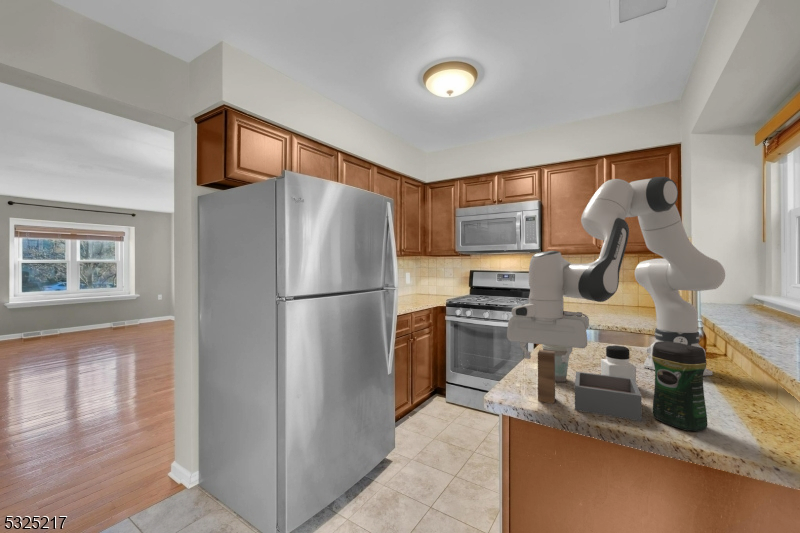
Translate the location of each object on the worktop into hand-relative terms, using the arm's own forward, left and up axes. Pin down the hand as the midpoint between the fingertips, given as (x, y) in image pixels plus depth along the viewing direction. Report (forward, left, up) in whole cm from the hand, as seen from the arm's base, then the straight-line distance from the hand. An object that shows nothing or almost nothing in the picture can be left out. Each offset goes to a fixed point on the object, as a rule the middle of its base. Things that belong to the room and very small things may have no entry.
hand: (545, 360), depth 94 cm
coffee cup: (-20, +1, -11) cm, 23 cm away
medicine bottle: (-22, +18, -11) cm, 31 cm away
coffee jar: (+1, +29, -11) cm, 31 cm away
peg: (0, 0, -11) cm, 11 cm away
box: (-3, +14, -11) cm, 18 cm away
